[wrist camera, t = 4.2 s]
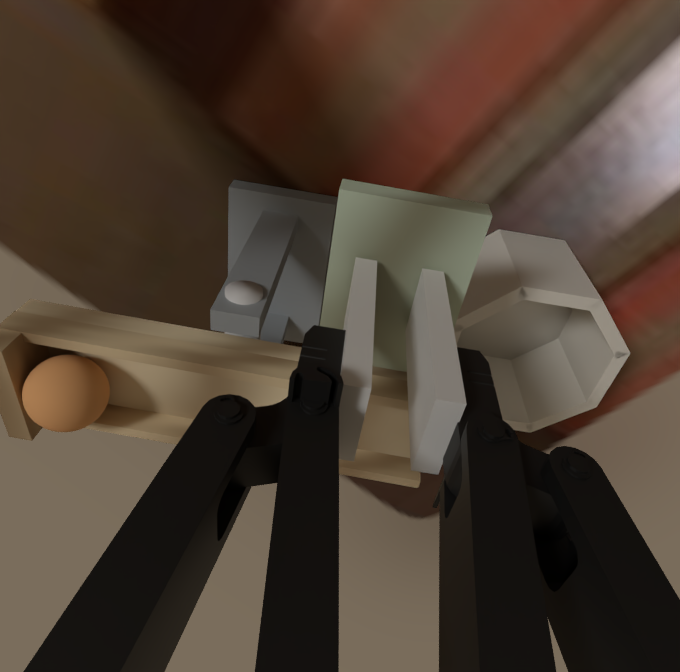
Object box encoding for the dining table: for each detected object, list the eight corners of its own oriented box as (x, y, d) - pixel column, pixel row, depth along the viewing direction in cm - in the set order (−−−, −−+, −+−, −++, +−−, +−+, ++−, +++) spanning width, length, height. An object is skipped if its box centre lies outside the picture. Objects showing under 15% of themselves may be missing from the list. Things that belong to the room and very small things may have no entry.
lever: (502, 207, 17) (521, 252, 14) (417, 450, 24) (418, 511, 22) (-21, 114, 17) (-103, 141, 14) (53, 385, 24) (9, 437, 22)
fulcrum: (337, 197, 29) (311, 305, 20) (317, 334, 35) (290, 467, 26) (234, 179, 29) (159, 280, 19) (232, 320, 35) (174, 449, 25)
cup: (611, 248, 29) (658, 309, 24) (548, 369, 35) (576, 440, 30) (452, 221, 29) (465, 276, 24) (415, 347, 35) (419, 414, 29)
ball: (121, 356, 21) (58, 403, 18) (130, 410, 23) (73, 459, 20) (61, 330, 21) (-8, 372, 19) (74, 384, 23) (13, 429, 21)
